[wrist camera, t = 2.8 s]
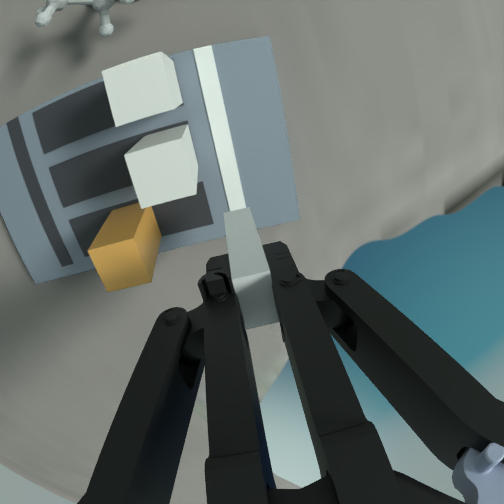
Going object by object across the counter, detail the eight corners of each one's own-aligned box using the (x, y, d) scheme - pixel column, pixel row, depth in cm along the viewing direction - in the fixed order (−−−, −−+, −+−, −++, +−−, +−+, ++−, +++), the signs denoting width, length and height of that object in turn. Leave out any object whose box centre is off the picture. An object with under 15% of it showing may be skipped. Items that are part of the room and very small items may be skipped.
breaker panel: (43, 272, 26) (8, 331, 19) (-12, 137, 19) (-73, 165, 11) (293, 209, 26) (327, 262, 19) (264, 39, 19) (295, 18, 12)
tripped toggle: (125, 245, 23) (107, 292, 18) (112, 210, 22) (87, 250, 17) (161, 235, 23) (151, 282, 18) (149, 199, 22) (133, 238, 17)
